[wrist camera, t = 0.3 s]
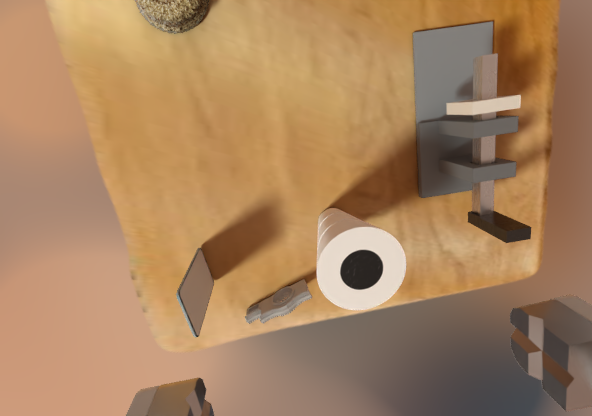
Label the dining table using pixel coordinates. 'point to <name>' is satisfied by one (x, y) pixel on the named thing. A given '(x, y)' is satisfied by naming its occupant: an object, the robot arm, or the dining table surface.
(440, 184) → the bearing stand
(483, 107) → the block
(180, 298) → the smartphone
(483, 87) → the shaft
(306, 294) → the grey toothed piece
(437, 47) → the mat
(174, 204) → the dining table surface
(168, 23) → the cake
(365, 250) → the cup
